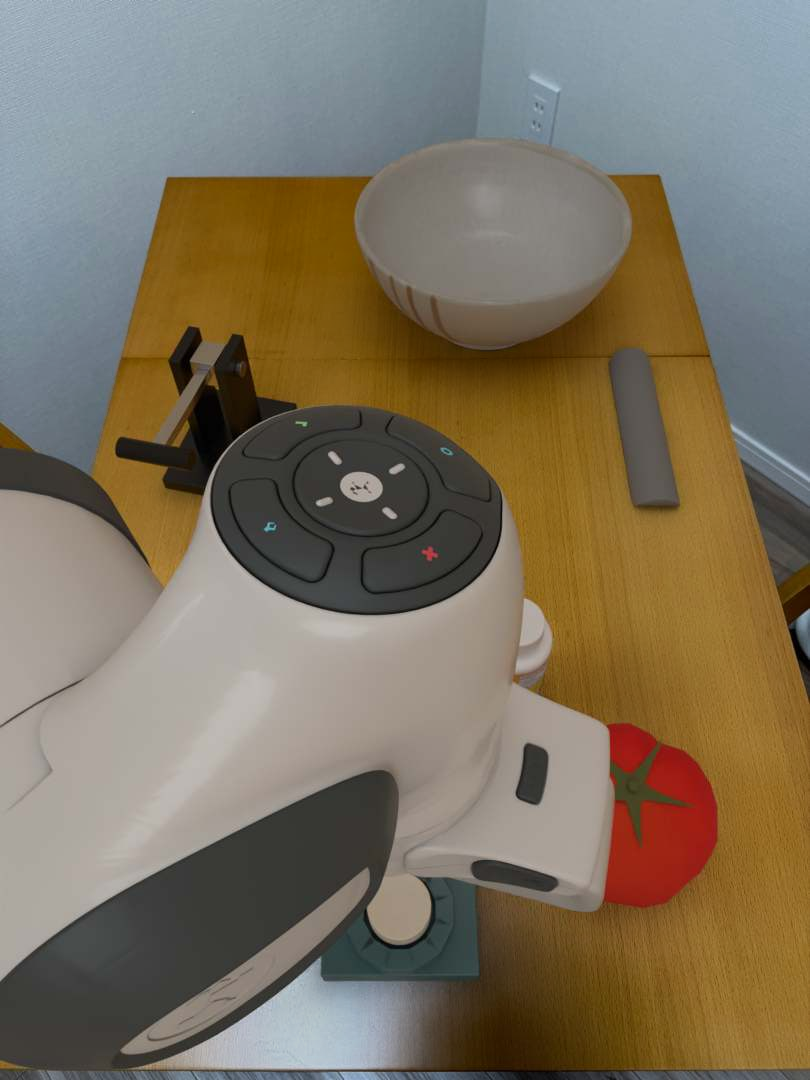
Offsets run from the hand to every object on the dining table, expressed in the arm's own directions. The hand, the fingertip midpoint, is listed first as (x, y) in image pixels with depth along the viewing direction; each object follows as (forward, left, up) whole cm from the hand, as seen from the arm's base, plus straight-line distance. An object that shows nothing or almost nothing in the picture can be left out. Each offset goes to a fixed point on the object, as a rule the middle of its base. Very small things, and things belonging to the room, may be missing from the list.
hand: (386, 851), depth 44 cm
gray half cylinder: (+49, +5, -17) cm, 52 cm away
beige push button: (0, -1, -13) cm, 13 cm away
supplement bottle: (+19, +2, -17) cm, 25 cm away
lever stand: (+26, +36, -17) cm, 48 cm away
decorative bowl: (+56, +26, -17) cm, 64 cm away
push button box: (0, -1, -17) cm, 17 cm away
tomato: (+13, -10, -17) cm, 23 cm away
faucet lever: (+21, +35, -6) cm, 41 cm away
